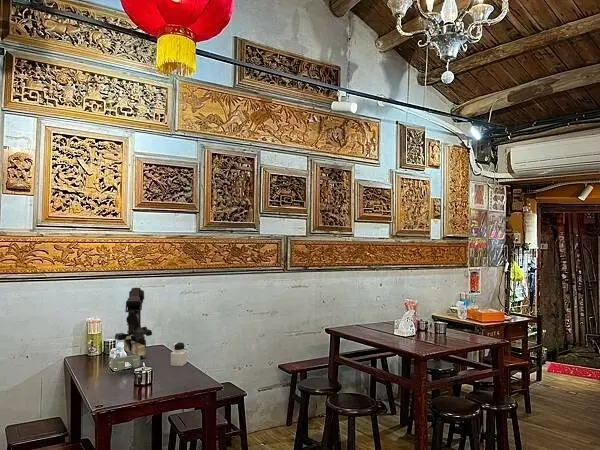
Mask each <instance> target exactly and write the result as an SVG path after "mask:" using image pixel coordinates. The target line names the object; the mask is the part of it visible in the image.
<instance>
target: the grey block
mask: <svg viewBox="0 0 600 450" xmlns="http://www.w3.org/2000/svg"><path fill="white" fill-rule="evenodd" d="M125 362H129V363H130V364H131V365H132V366H131V368H139V367H140V365H141V359H140V356H137V355H127V356H125V355H124V356H121V357H116V358H111V359H110V370H111V369H112V371H114V370H113V369H114V368H117V369H119V370H120V371H123V370H122V369H125V368H126V367H125ZM117 369H116V370H117ZM119 370H118V371H119ZM125 370H126V369H125Z"/></svg>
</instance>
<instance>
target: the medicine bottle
mask: <svg viewBox="0 0 600 450" xmlns="http://www.w3.org/2000/svg"><path fill="white" fill-rule="evenodd" d="M172 347H173V349H172V352H170V366H172V367H173V366H175V367H183V366H184V365H186V364H187V363H188V351H187V349H186V350H185V343H184V342H175V343H173V346H172Z"/></svg>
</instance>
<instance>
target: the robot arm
mask: <svg viewBox="0 0 600 450" xmlns="http://www.w3.org/2000/svg"><path fill="white" fill-rule="evenodd" d="M144 300H145V291H144V290H142V289H141V287H132V288H131V290H130V291H129V292H128V298H127V299H126V301H125V311H124V312H125V313H127V316H126V323H127V324H126V325H127V333H125V332H119V333H115V335H114V339H115V340H117V341H125V342H126V344H127V346H128V348H129V351H131V340H133V341H134V342H137V343H139V344H142V345H145V349H146V347H147V340H146V339H145V338H146V336H147V337H149V336H152V335H153V331H152V330H151V329H149V328H148V327H147V326H142V327H141V323H142V322H141V321H142V318H141V315H142V314H141V311H142V309H143V303H144ZM131 354H132V353H131ZM132 355H135V354H132ZM145 358H146V357H145V356H144V355H142V356H140V360H141V359H145Z"/></svg>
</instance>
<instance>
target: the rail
mask: <svg viewBox="0 0 600 450" xmlns="http://www.w3.org/2000/svg"><path fill="white" fill-rule="evenodd" d="M123 343H124V347H123V348H124V349H123V350H124V351H126V352H128V353H129V354H135V355H137V356H146V355H145V354H146V348H145V345H142V344H139V343H137V342H134V341H133V340H131V351H129V348H128V346H127V344H126V342H125V340H123Z"/></svg>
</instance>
